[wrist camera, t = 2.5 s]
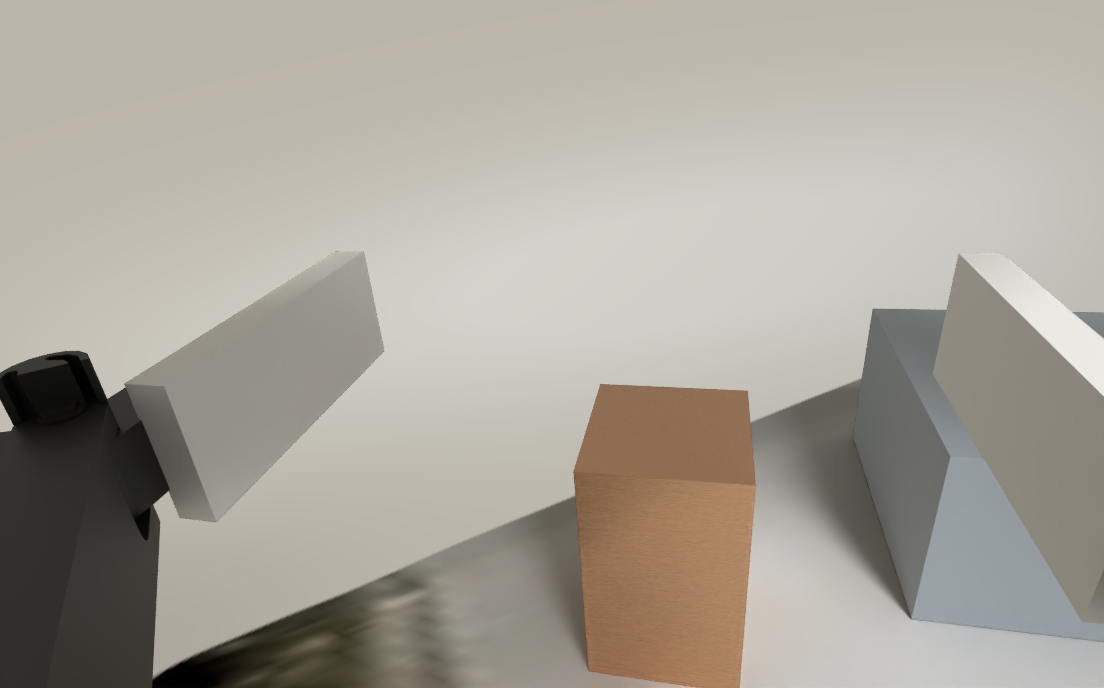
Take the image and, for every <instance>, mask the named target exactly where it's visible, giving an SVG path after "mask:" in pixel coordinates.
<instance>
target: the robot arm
mask: <svg viewBox="0 0 1104 688" xmlns="http://www.w3.org/2000/svg"><path fill="white" fill-rule="evenodd" d="M383 352H384V347H383V342H382V337H381V332H380V327H379V322H378V318H377V313H376V308H375V303H374V298H373V294H372V289H371V284H370V279H369V274H368V269H367V265H366V260H365V255H364V251H336V252H334V253H332V254H331V255H329V256H328V257H326V258H325V259H323V260H322V261H320V262H318V263H317V264H315V265H313V266H312V267H310V268H309V269H307V270H306V271H304V272H302V273H301V274H299V275H297V276H296V277H294V278H293V279H291V280H289V281H288V282H286V283H285V284H283V285H282V286H280V287H278V288H277V289H275V290H273V291H272V292H270V293H269V294H267V295H266V296H264V297H262V298H261V299H259V300H257V301H256V302H254V303H253V304H251V305H249V306H248V307H246V308H245V309H243V310H241V311H240V312H238V313H237V314H235V315H233V316H232V317H230V318H229V319H227V320H226V321H224V322H222V323H221V324H219V325H217V326H216V327H214V328H213V329H211V330H210V331H208V332H206V333H205V334H203V335H202V336H200V337H198V338H197V339H195V340H194V341H192V342H190V343H189V344H187V345H186V346H184V347H182V348H181V349H179V350H178V351H176V352H175V353H173V354H171V355H170V356H168V357H167V358H165V359H163V360H162V361H160V362H158V363H157V364H155V365H154V366H152V367H151V368H149V369H147V370H146V371H144V372H143V373H141V374H139V375H138V376H136V377H134V378H133V379H131V380H130V381H128V382H126V383H125V384H124V385H125V387H126V388H124V389H123V390H121V391H120V392H118V393H116V394H115V395H113V396H112V397H110V398H108V399H107V398H106V395H105V393H104V391H103V388H102V386H101V384H100V381H99V379H98V377H97V375H96V372H95V370H94V368H93V365H92V363H91V361H90V358H89V356H88V354H87V353H84V352H80V351H64V352H58V353H52V354H47V355H43V356H39V357H36V358H32V359H29V360H27V361H24V362H21V363H19V364H17V365H14V366H11V367H10V368H8V369H6V370H4V371H3V372H1V373H0V400H1V402H2V404H3V406H4V408H5V410H6V412H7V413H8V415H9V417H10V419H11V421H12V423H13V425H14V426H13V428H12V431H7V432H0V688H152V676H153V655H154V635H155V634H154V633H155V616H156V596H157V575H158V556H159V536H160V535H159V534H160V520H159V518H158V515H157V513H156V510H155V508H154V506H153V504H154V503H155V502H156V501H157V500H159V499H160V498H161V497H162V496H163V495H164V494H166V493H167V492H168V491H169V493H170V495H171V498H172V500H173V502H174V505H175V507H176V509H177V512H178V514H179V517H180V518H185V519H193V520H202V521H211V522H217V521H218V520H219V519H220V518H221V517H222V516H223V515H224V514H225V513H226V512H227V511H228V510H229V509H230V508H231V507H232V506H233V505H234V504H235V503H236V502H237V501H238V500H239V499H240V498H241V497H242V496H243V495H244V494H245V493H246V492H247V491H248V490H249V489H250V488H251V487H252V485H254V484H255V482H257V480H258V479H259V478H260V477H261V476H262V475H263V474H264V473H265V472H266V471H267V470H268V469H269V468H270V467H271V466H272V465H273V464H274V463H275V462H276V461H277V460H278V459H279V458H280V457H281V456H282V455H283V454H284V453H285V452H286V451H287V450H288V449H289V448H290V447H291V446H292V445H293V444H294V443H295V442H296V441H297V440H298V439H299V438H300V437H301V436H302V435H303V433H305V432H306V431H307V430H308V429H309V427H310V426H311V425H312V424H313V423H314V422H315V421H316V420H317V419H318V418H319V417H320V416H321V415H322V414H323V413H324V412H325V411H326V410H327V409H328V408H329V407H330V406H331V405H332V404H333V403H334V402H335V401H336V400H337V399H338V398H339V397H340V396H341V395H342V394H343V393H344V392H345V391H346V390H347V389H348V388H349V387H350V386H351V385H352V384H353V383H354V382H355V381H356V380H357V379H358V377H360V376H361V374H362V373H363V372H364V371H365V370H366V369H367V368H368V367H369V366H370V365H371V364H372V363H373V362H374V361H375V360H376V359H377V358H378V357H379V356H380V355H381V354H382V353H383ZM933 375H934V377H935V379H936V380H937V382H938V384H939V385H940V387H941V389H942V390H943V392H944V394H945V395H946V397H947V399H948V400H949V402H950V404H951V405H952V407H953V409H954V410H955V412H956V414H957V415H958V417H959V418H960V420H961V422H962V423H963V425H964V427H965V428H966V430H967V432H968V433H969V435H970V437H971V438H972V440H973V442H974V443H975V445H976V447H977V448H978V450H979V452H980V453H981V455H982V457H983V458H984V460H985V462H986V463H987V465H988V467H989V468H990V470H991V472H992V473H993V475H994V477H995V478H996V480H997V482H998V483H999V485H1000V486H1001V488H1002V490H1003V491H1004V493H1005V495H1006V496H1007V498H1008V500H1009V501H1010V503H1011V505H1012V506H1013V508H1014V510H1015V511H1016V513H1017V515H1018V516H1019V518H1020V520H1021V521H1022V523H1023V525H1024V526H1025V528H1026V530H1027V531H1028V533H1029V535H1030V536H1031V538H1032V540H1033V541H1034V543H1035V545H1036V546H1037V548H1038V550H1039V551H1040V553H1041V554H1042V556H1043V558H1044V559H1045V561H1046V563H1047V564H1048V566H1049V568H1050V569H1051V571H1052V573H1053V574H1054V576H1055V578H1056V579H1057V581H1058V583H1059V584H1060V586H1061V588H1062V589H1063V591H1064V593H1065V594H1066V596H1067V598H1068V599H1069V601H1070V603H1071V604H1072V606H1073V608H1074V609H1075V611H1076V613H1077V614H1078V616H1079V617H1080V619H1081V621H1082V622H1088V623H1097V624H1104V339H1103V338H1102V337H1101V336H1100V335H1099V334H1097V333H1096V332H1095V331H1094V330H1093V329H1091V328H1090V327H1089V326H1088V325H1087V324H1086V323H1084V322H1083V321H1082V320H1081V319H1080V318H1078V317H1077V316H1076V315H1075V314H1074V313H1072V312H1071V311H1070V310H1069V309H1068V308H1066V307H1065V306H1064V305H1063V304H1062V303H1060V302H1059V301H1058V300H1057V299H1056V298H1054V297H1053V296H1052V295H1051V294H1050V293H1048V292H1047V291H1046V290H1045V289H1044V288H1043V287H1041V286H1040V285H1039V284H1038V283H1036V282H1035V281H1034V280H1033V279H1031V277H1029V276H1028V275H1027V274H1026V273H1024V272H1023V271H1022V270H1021V269H1020V268H1019V267H1017V266H1016V265H1015V264H1014V263H1012V262H1011V261H1010V260H1009V259H1008V258H1007V257H1005V256H1004V255H1003V254H971V253H968V254H967V253H964V254H961V253H960V254H958V259H957V264H956V268H955V273H954V278H953V283H952V287H951V292H950V296H949V301H948V305H947V310H946V315H945V319H944V324H943V329H942V333H941V338H940V342H939V347H938V352H937V356H936V361H935V366H934V370H933Z"/></svg>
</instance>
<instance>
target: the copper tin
mask: <svg viewBox="0 0 1104 688" xmlns="http://www.w3.org/2000/svg"><path fill="white" fill-rule="evenodd" d="M574 483H575V496H576V509H577V523H578V536H579V549H580V562H581V575H582V589H583V602H584V615H585V628H586V642H587V655H588V668H589V671H590V672H597V673H604V674H610V675H617V676H624V677H630V678H637V679H644V680H650V681H657V682H664V683H671V684H677V685H684V686H691V687H697V688H739V687H740V675H741V662H742V650H743V637H744V625H745V612H746V600H747V587H748V575H749V562H750V550H751V537H752V525H753V512H754V500H755V487H756V485H755V473H754V461H753V449H752V437H751V425H750V414H749V401H748V391H736V390H717V389H694V388H673V387H651V386H630V385H629V386H628V385H607V384H606V385H605V384H600V388H599V391H598V394H597V397H596V400H595V404H594V407H593V410H592V413H591V417H590V420H589V423H588V426H587V430H586V433H585V436H584V440H583V443H582V446H581V449H580V452H579V456H578V460H577V463H576V466H575V469H574Z"/></svg>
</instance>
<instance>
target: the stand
mask: <svg viewBox="0 0 1104 688" xmlns="http://www.w3.org/2000/svg"><path fill="white" fill-rule="evenodd" d="M1072 313H1074V314H1075V315H1076V316H1077V317H1078V318H1080V319H1081V320H1082V321H1083V322H1084V323H1086V324H1087V325H1088V326H1089V327H1090V328H1091V329H1093V330H1094V331H1095V332H1096V333H1097V334H1099V335H1100V336H1101V337H1102V338H1103V339H1104V313H1092V312H1090V313H1089V312H1072ZM945 315H946V310H918V309H873V311H872V317H871V324H870V330H869V336H868V343H867V349H866V356H865V362H864V368H863V375H862V381H861V387H860V394H859V400H858V407H857V413H856V419H855V426H854V432H853V439H854V442H855V445H856V448H857V451H858V454H859V458H860V461H861V464H862V467H863V470H864V473H865V476H866V479H867V482H868V486H869V489H870V492H871V495H872V498H873V501H874V504H875V507H876V510H877V514H878V517H879V520H880V523H881V526H882V529H883V532H884V535H885V538H886V542H887V545H888V548H889V551H890V554H891V557H892V560H893V563H894V566H895V570H896V573H897V576H898V579H899V582H900V585H901V588H902V591H903V594H904V598H905V601H906V604H907V607H908V610H909V613H910V616H911V619H916V620H924V621H933V622H941V623H950V624H958V625H967V626H975V627H984V628H993V629H1001V630H1010V631H1018V632H1027V633H1035V634H1044V635H1052V636H1061V637H1069V638H1078V639H1087V640H1095V641H1104V624H1097V623H1088V622H1082V621H1081V619H1080V617H1079V616H1078V614H1077V613H1076V611H1075V609H1074V608H1073V606H1072V604H1071V603H1070V601H1069V599H1068V598H1067V596H1066V594H1065V593H1064V591H1063V589H1062V588H1061V586H1060V584H1059V583H1058V581H1057V579H1056V578H1055V576H1054V574H1053V573H1052V571H1051V569H1050V568H1049V566H1048V564H1047V563H1046V561H1045V559H1044V558H1043V556H1042V554H1041V553H1040V551H1039V550H1038V548H1037V546H1036V545H1035V543H1034V541H1033V540H1032V538H1031V536H1030V535H1029V533H1028V531H1027V530H1026V528H1025V526H1024V525H1023V523H1022V521H1021V520H1020V518H1019V516H1018V515H1017V513H1016V511H1015V510H1014V508H1013V506H1012V505H1011V503H1010V501H1009V500H1008V498H1007V496H1006V495H1005V493H1004V491H1003V490H1002V488H1001V486H1000V485H999V483H998V482H997V480H996V478H995V477H994V475H993V473H992V472H991V470H990V468H989V467H988V465H987V463H986V462H985V460H984V458H983V457H982V455H981V453H980V452H979V450H978V448H977V447H976V445H975V443H974V442H973V440H972V438H971V437H970V435H969V433H968V432H967V430H966V428H965V427H964V425H963V423H962V422H961V420H960V418H959V417H958V415H957V414H956V412H955V410H954V409H953V407H952V405H951V404H950V402H949V400H948V399H947V397H946V395H945V394H944V392H943V390H942V389H941V387H940V385H939V384H938V382H937V380H936V379H935V377H934V375H933V370H934V366H935V361H936V356H937V352H938V347H939V342H940V338H941V333H942V329H943V324H944V319H945Z"/></svg>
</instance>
